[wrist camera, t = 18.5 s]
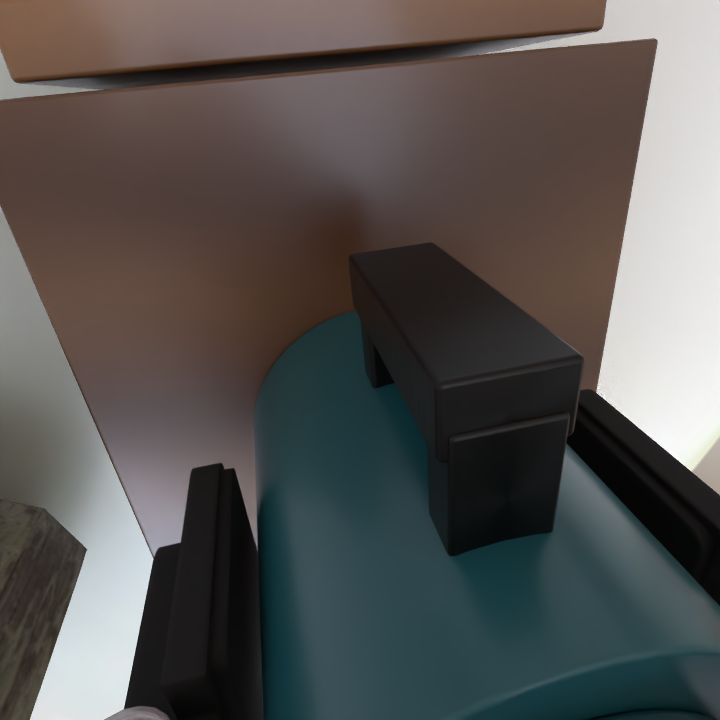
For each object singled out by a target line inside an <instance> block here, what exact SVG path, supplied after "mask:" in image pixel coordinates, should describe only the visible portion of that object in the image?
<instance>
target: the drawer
mask: <svg viewBox="0 0 720 720" xmlns="http://www.w3.org/2000/svg"><path fill="white" fill-rule="evenodd" d="M605 8H606V0H0V49H1V52H2V55H3V57H4V60H5V63H6V65H7V68H8V71H9V73H10V76H11V78H12V79H13V81H14V82H17V83H21V84H35V85H48V86H62V87H76V88H89V89H103V90H109V89H120V88H131V87H141V86H152V85H163V84H173V83H184V82H195V81H205V80H216V79H227V78H237V77H248V76H259V75H269V74H280V73H291V72H301V71H312V70H323V69H333V68H344V67H355V66H365V65H376V64H387V63H397V62H408V61H419V60H429V59H440V58H451V57H461V56H472V55H478V54H483V53H488V52H493V51H499V50H504V49H509V48H514V47H519V46H524V45H530V44H535V43H540V42H545V41H550V40H556V39H561V38H566V37H571V36H576V35H582V34H587V33H592V32H597V31H599V30H601V29H602V27H603V23H604V15H605Z"/></svg>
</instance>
